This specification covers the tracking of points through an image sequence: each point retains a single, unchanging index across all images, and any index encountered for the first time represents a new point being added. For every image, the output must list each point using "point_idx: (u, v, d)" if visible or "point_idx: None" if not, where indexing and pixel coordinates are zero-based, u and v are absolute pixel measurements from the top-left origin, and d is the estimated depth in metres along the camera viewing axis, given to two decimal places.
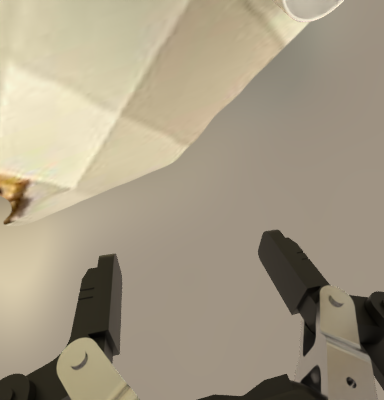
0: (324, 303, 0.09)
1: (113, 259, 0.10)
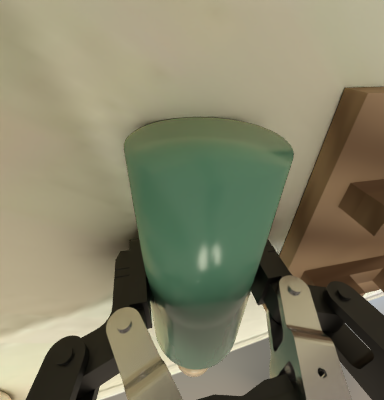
0: (284, 295, 0.09)
1: None
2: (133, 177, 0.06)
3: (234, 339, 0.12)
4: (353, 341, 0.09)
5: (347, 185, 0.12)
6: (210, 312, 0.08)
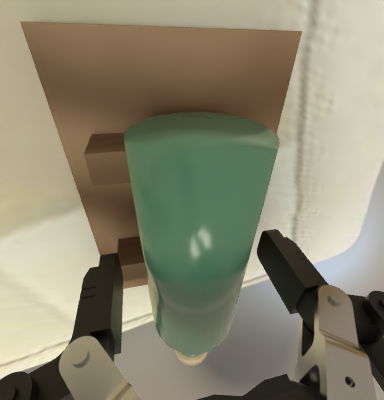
0: (322, 302, 0.09)
1: (114, 258, 0.10)
2: (132, 165, 0.07)
3: (229, 325, 0.13)
4: None
5: (89, 137, 0.11)
6: (205, 294, 0.09)
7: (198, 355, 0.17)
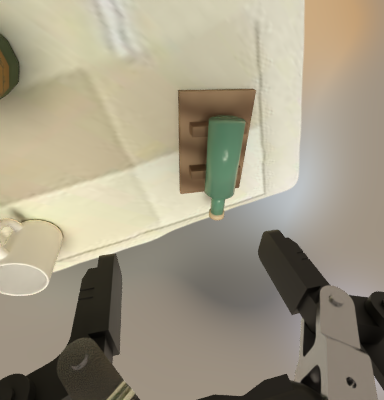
0: (324, 303, 0.09)
1: (113, 259, 0.10)
2: (212, 127, 0.30)
3: (233, 190, 0.37)
4: None
5: (188, 123, 0.35)
6: (227, 165, 0.33)
7: (220, 214, 0.40)
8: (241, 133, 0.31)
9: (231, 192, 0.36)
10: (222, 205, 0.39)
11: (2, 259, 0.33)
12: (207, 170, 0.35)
